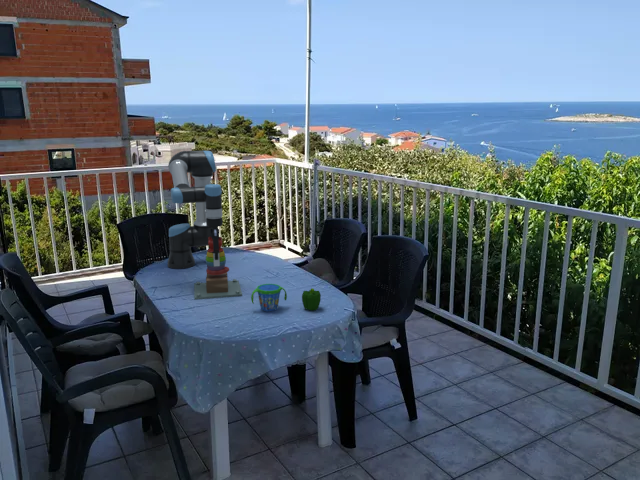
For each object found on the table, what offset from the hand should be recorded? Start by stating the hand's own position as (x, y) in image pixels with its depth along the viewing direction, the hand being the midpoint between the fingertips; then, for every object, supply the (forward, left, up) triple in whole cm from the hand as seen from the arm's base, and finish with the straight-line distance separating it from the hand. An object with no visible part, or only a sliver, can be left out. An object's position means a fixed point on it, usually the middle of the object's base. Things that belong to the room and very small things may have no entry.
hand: (216, 263), depth 251 cm
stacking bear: (0, 0, -5) cm, 5 cm away
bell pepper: (+35, +39, -14) cm, 54 cm away
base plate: (0, 0, -14) cm, 14 cm away
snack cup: (+31, +21, -14) cm, 40 cm away
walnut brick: (0, 0, -13) cm, 13 cm away
